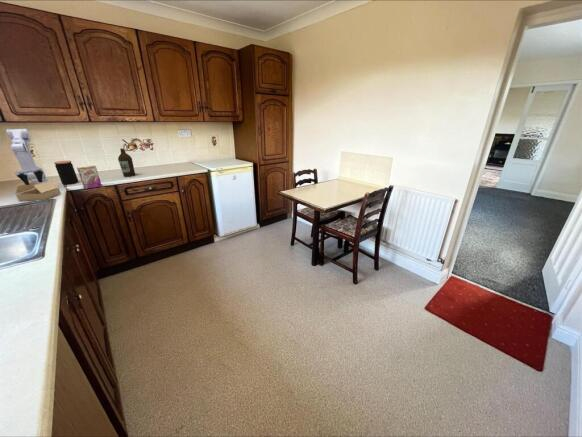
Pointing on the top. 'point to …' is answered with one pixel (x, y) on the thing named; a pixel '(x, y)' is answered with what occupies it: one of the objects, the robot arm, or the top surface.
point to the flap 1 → (25, 187)
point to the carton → (37, 195)
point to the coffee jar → (66, 172)
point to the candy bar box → (89, 176)
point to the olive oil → (126, 164)
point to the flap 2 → (45, 186)
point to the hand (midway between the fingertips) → (34, 183)
